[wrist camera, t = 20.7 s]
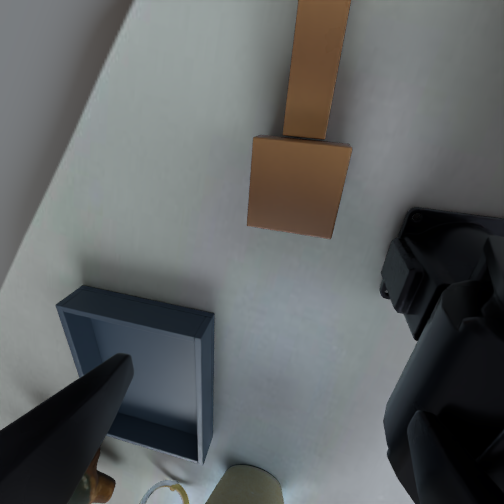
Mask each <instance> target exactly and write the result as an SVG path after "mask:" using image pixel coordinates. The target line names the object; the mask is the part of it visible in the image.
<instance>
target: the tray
mask: <svg viewBox="0 0 504 504" xmlns="http://www.w3.org/2000/svg"><path fill="white" fill-rule="evenodd" d="M56 308H57V311H58V314H59V317H60V320H61V323H62V326H63V329H64V332H65V335H66V338H67V341H68V344H69V347H70V350H71V353H72V356H73V360H74V363H75V366H76V369H77V372H78V375H79V378H80V377H82V376H83V375H85V374H86V373H88V372H89V371H91V370H92V369H94V368H95V367H97V366H98V365H100V364H101V363H103V362H104V361H106V360H107V359H109V358H110V357H112V356H113V355H115V354H117V353H125V354H130V355H131V357H132V362H133V367H134V376H133V379H132V381H131V383H130V386H129V388H128V390H127V392H126V394H125V397H124V399H123V401H122V403H121V406H120V408H119V410H118V412H117V415H116V417H115V419H114V421H113V423H112V425H111V427H110V429H109V431H108V433H107V435H106V436H109V437H113V438H116V439H119V440H122V441H125V442H129V443H132V444H135V445H138V446H142V447H145V448H148V449H151V450H155V451H158V452H161V453H164V454H167V455H171V456H174V457H177V458H180V459H184V460H187V461H190V462H193V463H196V464H200V465H203V464H204V461H205V458H206V455H207V452H208V449H209V446H210V443H211V440H212V437H213V376H214V313H209V312H205V311H200V310H195V309H191V308H186V307H181V306H177V305H172V304H167V303H163V302H158V301H154V300H149V299H144V298H140V297H135V296H130V295H126V294H121V293H116V292H112V291H107V290H102V289H98V288H93V287H88V286H84V285H82V286H81V287H79V288H78V289H77V290H75V291H74V292H73V293H71V294H70V295H69V296H67V297H66V298H64V299H63V300H62V301H60V302H59V303H58V304H56Z"/></svg>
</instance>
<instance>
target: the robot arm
mask: <svg viewBox="0 0 504 504" xmlns="http://www.w3.org/2000/svg"><path fill="white" fill-rule="evenodd" d="M416 213H420V216H419V218H417V219H412V218H413V215H414V214H416ZM381 274H382V277H383V280H382V283H381V286H380V290H379V291H380V294H381V296H382V297H383V298H386V299H391V301H392V304H393V307H394V309H395V310H396V311H397V313H402V314H404V316H405V318H406V321H407V323H408V326H409V328H410V331H411V333H412V336H413V338H414V339H415V340H416V341H418V342H417V344H416V346H415V348H414V350H413V352H412V354H411V356H410V358H409V360H408V362H407V364H406V366H405V368H404V370H403V372H402V374H401V376H400V378H399V380H398V382H397V384H396V386H395V388H394V390H393V392H392V394H391V396H390V398H389V400H388V402H387V405H386V410H385V415H384V420H383V423H384V429H385V435H386V441H387V446H388V448H389V449H388V451H387V457H388V459H389V461H390V463H391V466H392V468H393V470H394V472H395V474H396V476H397V478H398V479H399V481H400V482H401V484H402V485H403V487H404V488H405V490H406V491H407V493H408V494H409V495H410V497H411V498H412V500H413V501H414V503H415V504H504V219H502V218H495V217H487V216H480V215H472V214H465V213H457V212H450V211H443V210H435V209H428V208H420V207H414V208H412V209H410V210H409V211H408V212H407V214H406V217H405V219H404V222H403V225H402V228H401V231H400V233H399V236H398V238H395V239H394V240H392V242H391V245H390V248H389V251H388V254H387V257H386V259H385V262H384V265H383V268H382V271H381ZM386 290H387V291H388V293H386V292H385V291H386ZM133 376H134V367H133V362H132V357H131V355H130V354H125V353H117V354H115V355H113V356H112V357H110V358H109V359H107V360H106V361H104V362H103V363H101V364H100V365H98V366H97V367H95V368H94V369H92V370H91V371H89V372H88V373H86V374H85V375H83V376H82V377H80V378H79V379H77V380H76V381H74V382H73V383H71V384H70V385H68V386H67V387H65V388H64V389H62V390H61V391H59V392H58V393H56V394H55V395H53V396H52V397H50V398H49V399H47V400H46V401H44V402H43V403H41V404H40V405H38V406H37V407H35V408H34V409H32V410H31V411H29V412H28V413H26V414H25V415H23V416H22V417H20V418H19V419H17V420H16V421H14V422H13V423H11V424H10V425H8V426H6V427H5V428H3V429H2V430H0V504H68V502H69V500H70V498H71V496H72V495H73V493H74V491H75V489H76V488H77V486H78V484H79V482H80V481H81V479H82V477H83V475H84V473H85V472H86V470H87V468H88V466H89V465H90V463H91V461H92V459H93V458H94V456H95V454H96V452H97V450H98V449H99V447H100V445H101V443H102V442H103V440H104V438H105V436H106V435H107V433H108V431H109V429H110V427H111V425H112V423H113V421H114V419H115V417H116V415H117V412H118V410H119V408H120V406H121V403H122V401H123V399H124V397H125V394H126V392H127V390H128V388H129V386H130V383H131V381H132V379H133Z"/></svg>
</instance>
